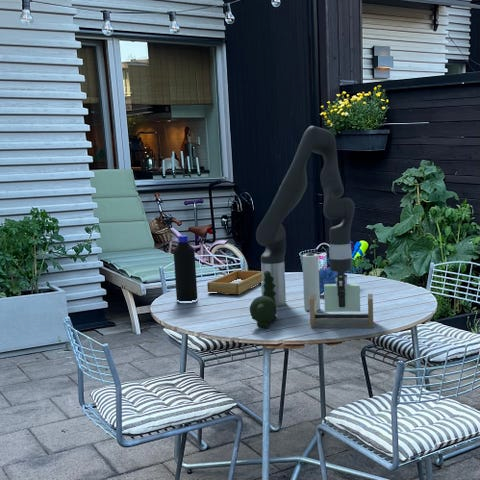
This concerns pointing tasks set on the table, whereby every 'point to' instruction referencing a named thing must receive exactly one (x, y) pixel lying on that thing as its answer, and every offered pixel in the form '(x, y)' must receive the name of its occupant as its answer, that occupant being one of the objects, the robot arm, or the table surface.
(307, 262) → the paper towel roll
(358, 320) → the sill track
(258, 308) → the toy figurine
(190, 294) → the bottle
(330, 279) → the grapes
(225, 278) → the tray
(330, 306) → the pale green rectangular block
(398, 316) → the table surface
